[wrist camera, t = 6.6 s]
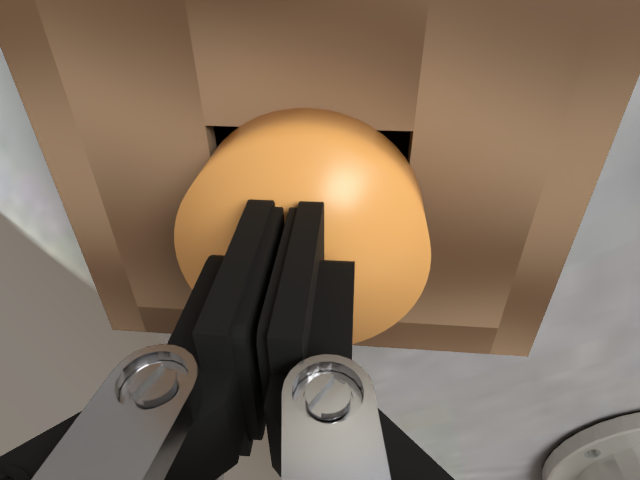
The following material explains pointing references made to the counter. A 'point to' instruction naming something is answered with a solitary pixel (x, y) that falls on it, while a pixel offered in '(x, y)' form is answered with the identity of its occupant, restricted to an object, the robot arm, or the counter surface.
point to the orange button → (318, 186)
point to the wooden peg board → (347, 98)
